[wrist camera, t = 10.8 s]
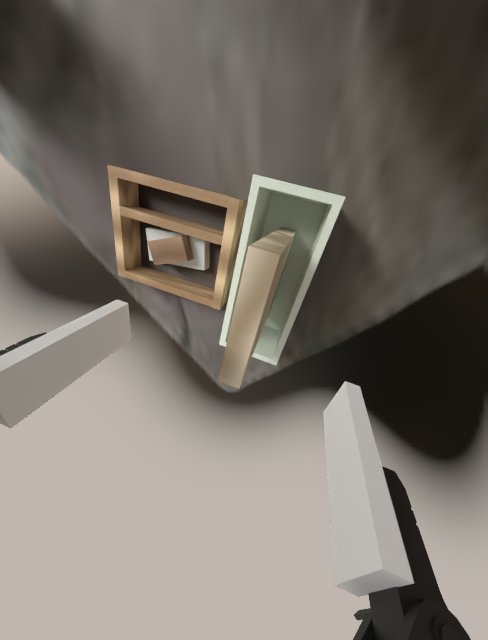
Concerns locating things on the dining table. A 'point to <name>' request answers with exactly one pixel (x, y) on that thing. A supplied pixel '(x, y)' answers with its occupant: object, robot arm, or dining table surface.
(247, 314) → the board
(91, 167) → the dining table surface
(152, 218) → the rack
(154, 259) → the offcut upper
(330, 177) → the dining table surface
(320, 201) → the tote
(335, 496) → the robot arm
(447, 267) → the dining table surface
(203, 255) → the offcut lower
